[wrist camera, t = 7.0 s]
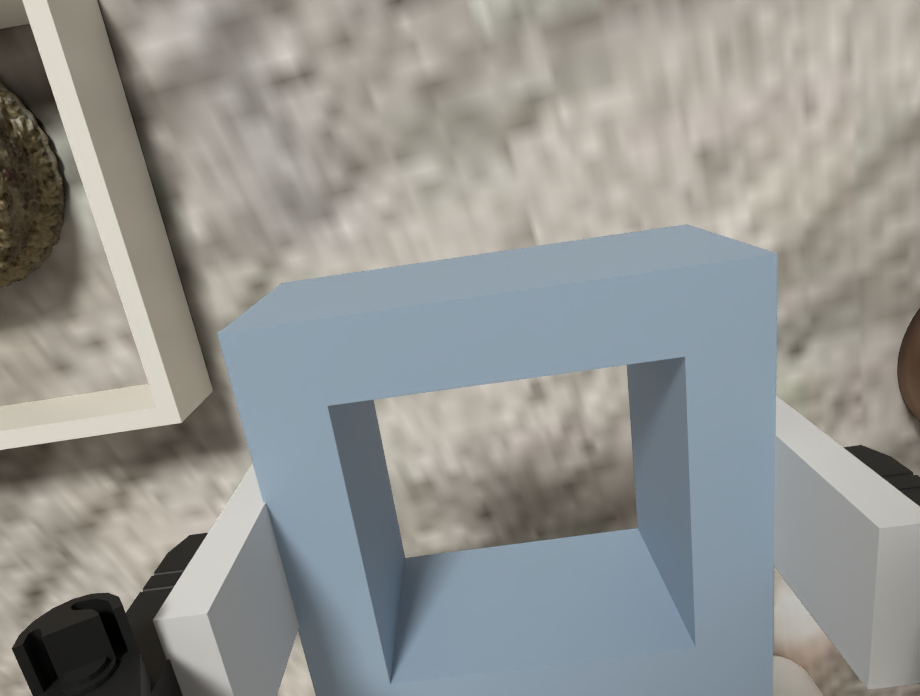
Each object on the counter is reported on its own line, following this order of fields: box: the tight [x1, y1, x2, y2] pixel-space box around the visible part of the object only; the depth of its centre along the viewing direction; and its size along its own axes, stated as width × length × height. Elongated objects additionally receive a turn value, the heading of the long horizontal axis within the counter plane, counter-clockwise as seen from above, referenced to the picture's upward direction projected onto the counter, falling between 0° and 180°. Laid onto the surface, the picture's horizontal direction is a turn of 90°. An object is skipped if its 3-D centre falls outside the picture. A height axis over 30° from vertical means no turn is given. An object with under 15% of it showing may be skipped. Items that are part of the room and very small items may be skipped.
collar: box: [217, 224, 778, 696], centre depth 13 cm, size 9×9×4 cm
